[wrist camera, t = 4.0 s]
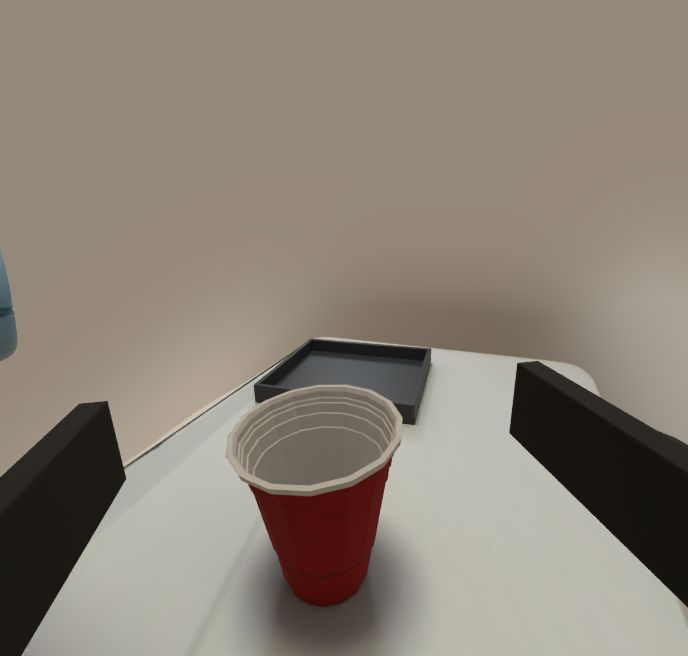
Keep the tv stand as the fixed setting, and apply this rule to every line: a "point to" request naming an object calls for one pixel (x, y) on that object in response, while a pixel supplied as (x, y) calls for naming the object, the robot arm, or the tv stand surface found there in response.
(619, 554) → the tv stand surface
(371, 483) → the plastic cup
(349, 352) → the tray
